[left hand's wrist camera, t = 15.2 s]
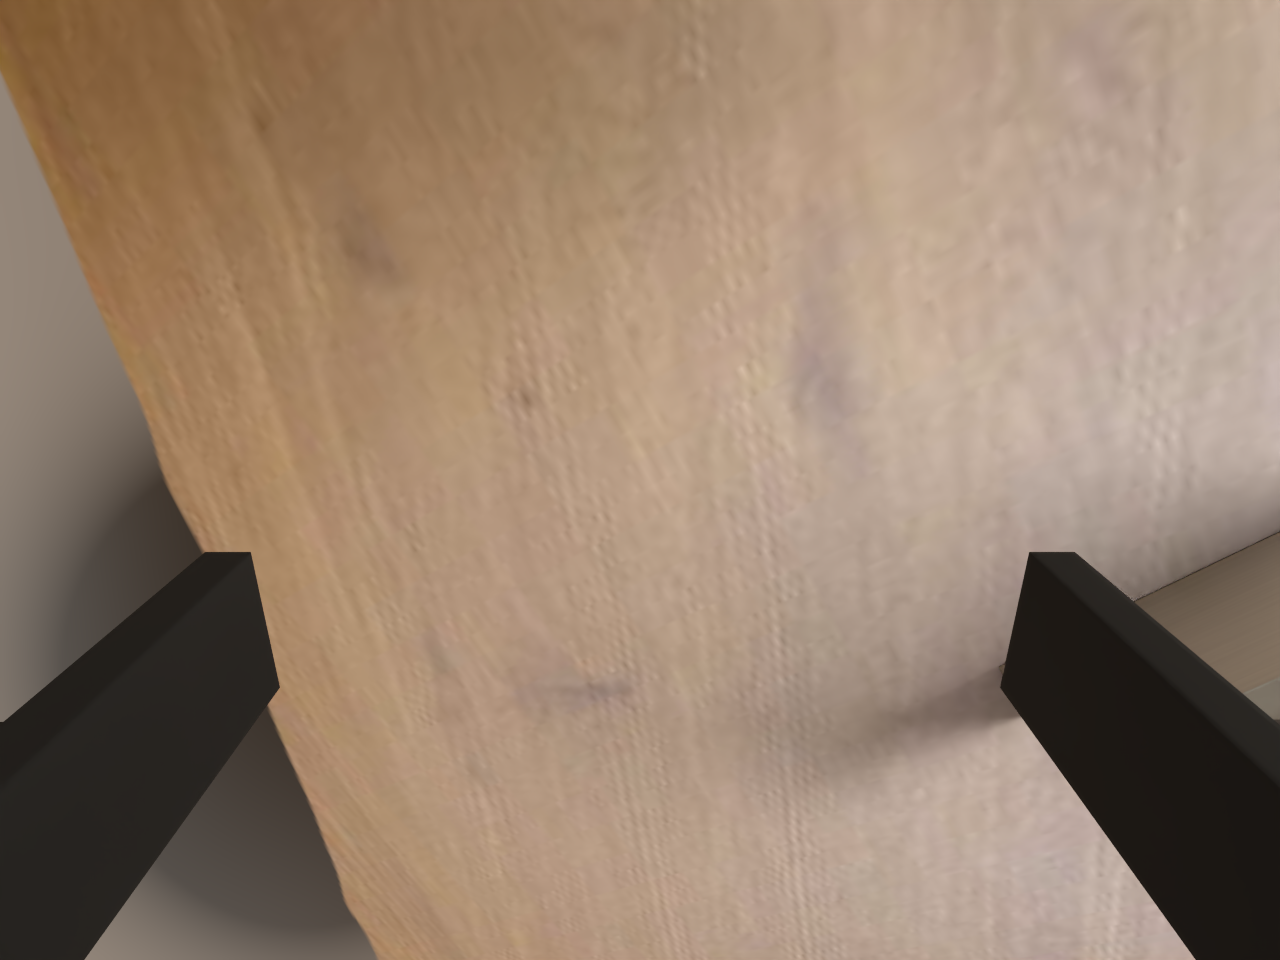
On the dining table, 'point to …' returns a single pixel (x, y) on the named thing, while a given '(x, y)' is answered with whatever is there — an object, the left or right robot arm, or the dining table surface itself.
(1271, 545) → the bar
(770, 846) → the dining table surface
